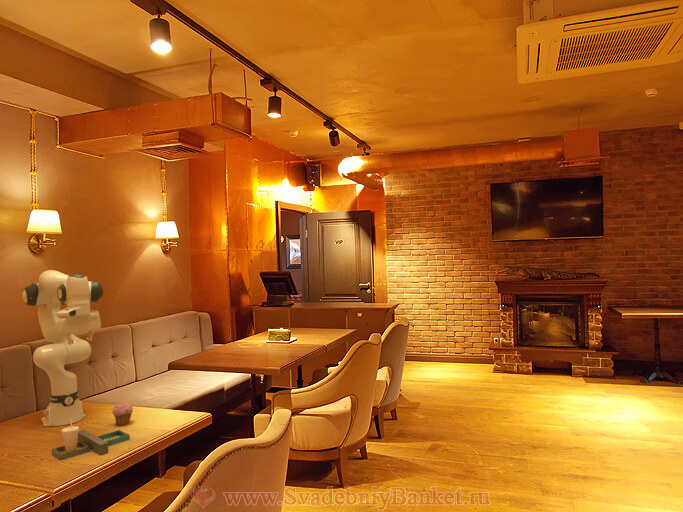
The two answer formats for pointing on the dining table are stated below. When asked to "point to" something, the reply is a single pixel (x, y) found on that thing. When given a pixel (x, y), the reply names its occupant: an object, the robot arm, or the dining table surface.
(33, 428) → the dining table surface
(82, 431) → the door edge
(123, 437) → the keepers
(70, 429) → the smoothie
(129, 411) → the cupcake
